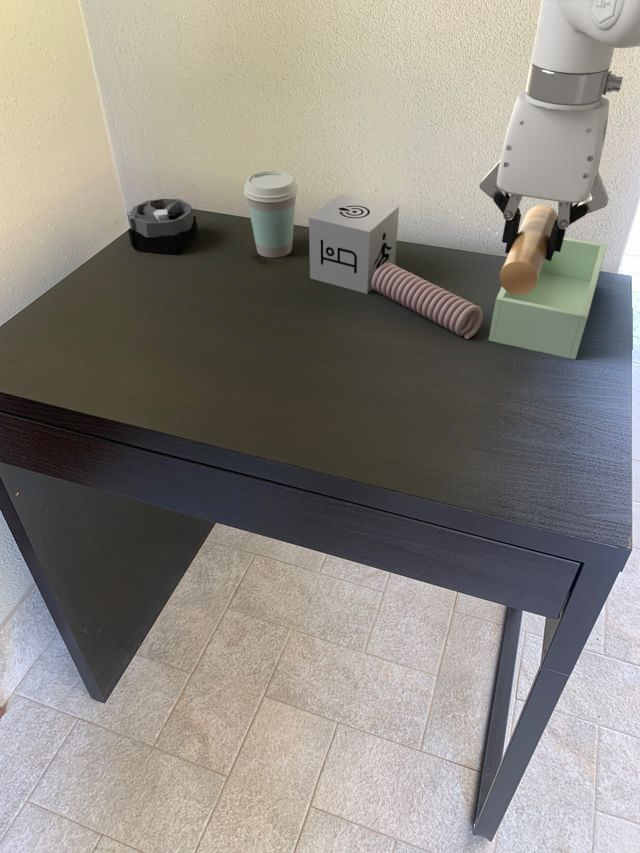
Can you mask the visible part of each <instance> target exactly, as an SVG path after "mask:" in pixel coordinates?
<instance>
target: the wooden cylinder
mask: <svg viewBox="0 0 640 853" xmlns="http://www.w3.org/2000/svg"><path fill="white" fill-rule="evenodd" d="M557 217H558V213H557V212H556V210H555V209H554V208H553V207H551V206H549V205H545V204H538V205H535V206H533V207H531V208H530V209H529V210H528V211H527V213H526V214H525V216H524V218H523V221H522V223H521V225H520V226H519V230H518V234H517V236H516V239H515V241H514V243H513V245H512V247H511V250H510V252H509V254H508V253H507V257H506V259H505V261H504V263H503V265H502V267H501V270H500V273H499V283H500V285H501V287H503V288H504V289H505V290H506V291H507V292H509V293H511V294H515V295H522V294H526V293H528V292H530V291H531V290H532V289H533V288H534V287H535V285H536V283H537V280H538V277H539V274H540V272H541V269H542V266H543V263H544V260H545V258H546V254H547V248H548V244H549V239H550V235H551V231H552V227H553V225H554V222H555V219H556V220H557Z"/></svg>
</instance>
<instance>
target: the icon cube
mask: <svg viewBox="0 0 640 853" xmlns="http://www.w3.org/2000/svg"><path fill="white" fill-rule="evenodd" d="M399 214H400V206H399V205H395V204H391V203H386V202H381V201H378V200H377V201H376V200H373V199H368V198H364V197H359V196H353V195H349V194H346V193H345V194H344V193H340V194H338V195H337V196H335V198H333V199H332V200H330V201H329V202H327V203H326V204H325V205H324V206H322V207H321V208H320V209H318V210H316V212H314V213H313V214H311V216H309V217H308V241H309V242H308V244H309V245H308V246H309V278H310V279H311V280H314V281H318V282H322V283H325V284H328V285H333V286H336V287H341V288H344V289H348V290H351V291H355V292H358V293H362V294H366V295H368V294H369V293H370V292H371V291H372V290H374V289H373V288H372V278H373V275H374V273H375V271H376V270H377V269H378V268H379V267H380V266H381V265H383V264H385V263H392V264H394V265H396V259H397V258H396V257H397V241H398V228H399ZM380 274H381V273H380ZM377 280H378V279H377Z"/></svg>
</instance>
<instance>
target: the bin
mask: <svg viewBox="0 0 640 853" xmlns="http://www.w3.org/2000/svg"><path fill="white" fill-rule="evenodd" d="M607 245H608V244H606V243H599V242H595V241H594V242H593V241H587V240H582V239H577V238H576V239H575V238H570V237H564V239H563V243H562V247H561V250H560V252H556V251H554V254H553V257H552V260H551V261H548V260H547V259H545V260H544V263H543V266H542V269H541V272H540V274H539V277H538V280H537V283H536V285H535V287H534V288H533V289H532V290H531V291H530V292H528V293H526V294H522V295H515V294H511V293H509V292H507V291H506V290H505V289H504V288H503V287H502V286H501V287H500V290H499V292H498V294H497V296H496V298H495V302H494V309H493V313H492V318H491V319H492V320H491V323H490V330H489V335H488V341H490V342H493V343H498V344H502V345H507V346H511V347H514V348H515V347H516V348H521V349H525V350H528V351H534V352H538V353H543V354H548V355H551V356H556V357H560V358H565V359H570V360H574V361H575V360H576V359H577V356H578V352H579V348H580V346H581V342H582V339H583V335H584V332H585V328H586V324H587V321H588V318H589V314H590V310H591V307H592V303H593V298H594V296H595V292H596V287H597V284H598V280H599V276H600V273H601V268H602V265H603V261H604V258H605V253H606V251H607V250H606V249H607Z"/></svg>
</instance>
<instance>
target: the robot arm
mask: <svg viewBox="0 0 640 853" xmlns="http://www.w3.org/2000/svg"><path fill="white" fill-rule="evenodd" d="M637 47H640V0H541V3H540V8H539V13H538V19H537V25H536V32H535V36H534V41H533V47H532V53H531V58H530V64H529V69H528V76H527V80H526V86H525V89H524V90H521V91H520V92H519V93H518V95H517V98H516V100H515V103H514V106H513V110H512V113H511V115H510V119H509V123H508V126H507V130H506V133H505V137H504V142H503V145H502V151H501V154H500V160H498V161H497V163H496V164H495V165H494V166H493V167H492V168H491V169H490V170H489V172H488V173H487V174H486V175H485V176H483V178H482V180H481V182H480V183H479V189H480V190H481V191H482V192H484V193H485V195H487V196H488V198H491V199H492V200H493V202H494V204H495V205H496V206H497V207H498V209H499V210H500V212H501V213H502V214H503V215H502V216H503V219H504V220H505V222H504V227H503V232H502V238H501V243H505V244H506V245H505V252H504V253H505V254H507V255H508V254H509V252H510V250H511V247H512V245H513V243H514V241H515V239H516V236H517V234H518V232H519V230H520V223H521V219H522V213H521V209H520V205H521V202H522V199H523V197H526V198H532V199H539V200H544V201H545V200H546V201H553V202H558V203H557V216H558V217H557V220H556V219H555V222H554V225H553V227H552V231H551V235H550V239H549V244H548V248H547V254H546V258H545V259H547V260H548V261H551V260H552V257H553V254H554V251H556V252H560V250H561V247H562V243H563V239H564V238H565V235H566V230H567V229H568V228H569V226H570V225H572V224H574V223H576V222H578V220H580V219H581V218H583V217H585V216H586V215H587V214H591V213H594V212H596V211H599V210H602V209H604V208H606V207H607V206H608V203H609V195H608V193H607V190H606V188H605V185H604V183H603V180H602V178H601V175H600V173H599V167H600V163H601V158H602V154H603V149H604V145H605V139H606V135H607V129H608V121H609V108H610V101H609V99H608V98H606V97H604V96H607V93H612V92H616V93H617V92H620V90H621V87H622V84H623V83H622V82H623V79H624V76H619V75H616V74H613V71H612V70H610V69H611V64H612V60H613V56H614V52H615V49H629V48H631V49H632V48H637ZM590 196H591V197H590Z"/></svg>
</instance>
